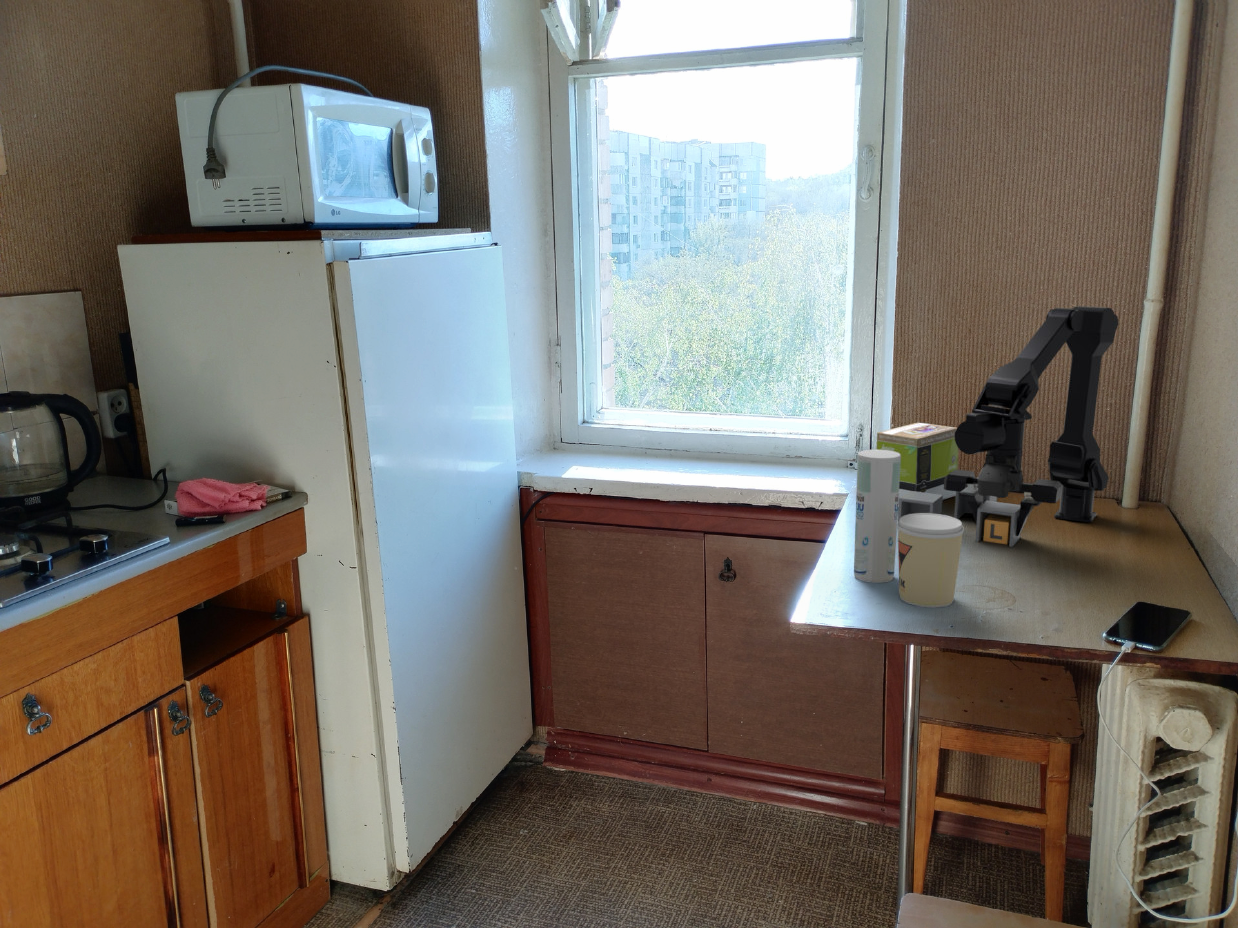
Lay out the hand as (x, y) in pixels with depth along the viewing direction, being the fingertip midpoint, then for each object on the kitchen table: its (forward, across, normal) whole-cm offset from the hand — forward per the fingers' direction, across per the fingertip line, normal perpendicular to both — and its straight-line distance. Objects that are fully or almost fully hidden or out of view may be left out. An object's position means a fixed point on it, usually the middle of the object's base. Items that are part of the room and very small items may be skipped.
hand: (998, 532), depth 172 cm
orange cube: (+1, 0, 0) cm, 1 cm away
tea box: (+2, -21, +20) cm, 29 cm away
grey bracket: (+1, 0, 0) cm, 1 cm away
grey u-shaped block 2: (+1, -14, 0) cm, 14 cm away
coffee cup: (+2, -2, -35) cm, 35 cm away
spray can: (+1, -12, -30) cm, 32 cm away
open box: (+1, -7, +12) cm, 14 cm away
